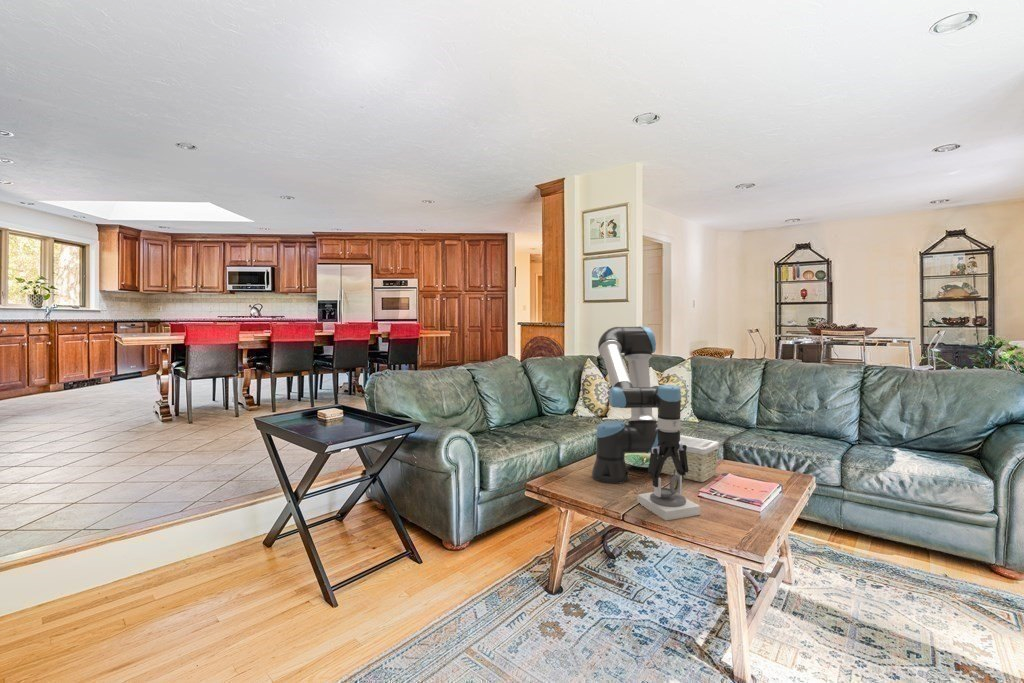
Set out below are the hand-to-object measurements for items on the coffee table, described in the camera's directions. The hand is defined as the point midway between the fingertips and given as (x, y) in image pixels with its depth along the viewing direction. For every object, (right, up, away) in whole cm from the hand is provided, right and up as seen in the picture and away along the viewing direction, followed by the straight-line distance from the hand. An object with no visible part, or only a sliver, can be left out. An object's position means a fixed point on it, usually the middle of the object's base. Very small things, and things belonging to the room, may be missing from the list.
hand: (667, 493), depth 163 cm
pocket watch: (0, 0, 0) cm, 0 cm away
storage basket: (+20, -4, +38) cm, 43 cm away
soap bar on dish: (0, -5, 0) cm, 5 cm away
